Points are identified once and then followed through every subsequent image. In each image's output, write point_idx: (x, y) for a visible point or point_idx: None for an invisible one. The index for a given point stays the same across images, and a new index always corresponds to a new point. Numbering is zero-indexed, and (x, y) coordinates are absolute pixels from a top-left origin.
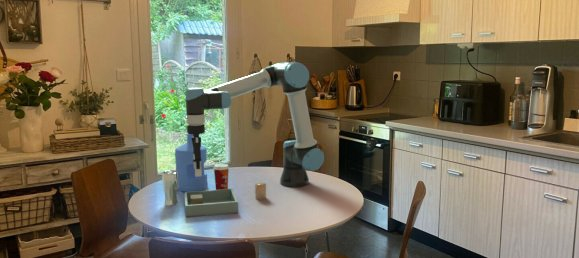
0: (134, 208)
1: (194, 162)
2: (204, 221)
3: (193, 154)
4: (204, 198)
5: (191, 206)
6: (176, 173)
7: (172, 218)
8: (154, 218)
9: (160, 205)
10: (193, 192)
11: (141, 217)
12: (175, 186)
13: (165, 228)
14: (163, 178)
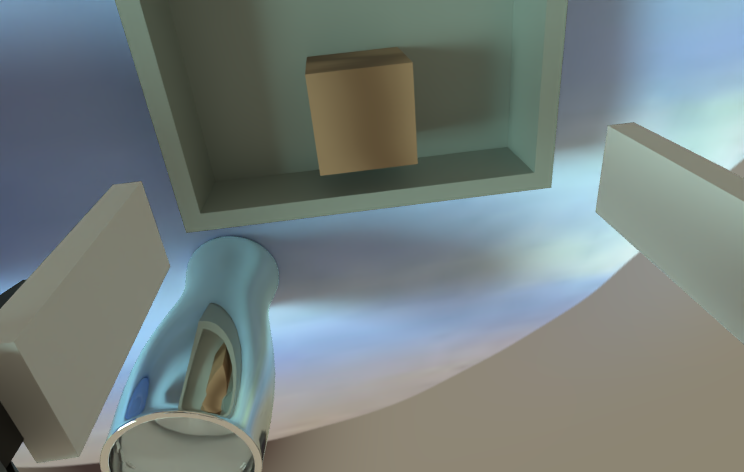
0: (303, 428)
1: (136, 319)
2: (636, 22)
3: (47, 459)
4: (175, 47)
5: (550, 140)
6: (207, 406)
7: (511, 230)
8: (483, 317)
9: None
10: (185, 158)
11: (451, 373)
12: (250, 326)
13: None
14: (247, 459)
